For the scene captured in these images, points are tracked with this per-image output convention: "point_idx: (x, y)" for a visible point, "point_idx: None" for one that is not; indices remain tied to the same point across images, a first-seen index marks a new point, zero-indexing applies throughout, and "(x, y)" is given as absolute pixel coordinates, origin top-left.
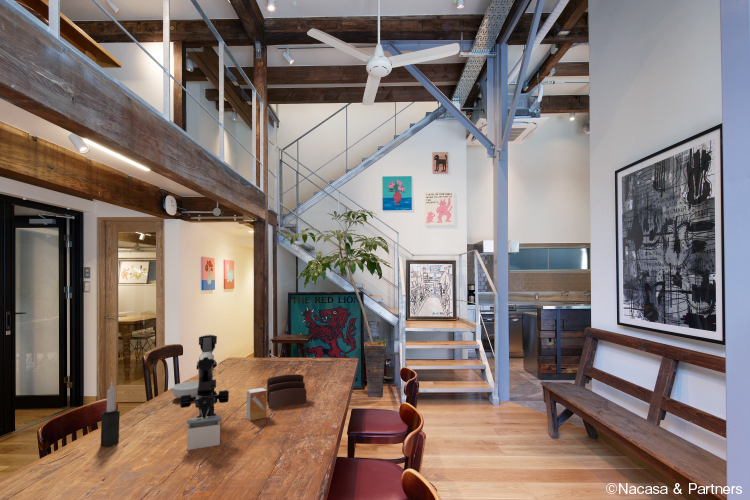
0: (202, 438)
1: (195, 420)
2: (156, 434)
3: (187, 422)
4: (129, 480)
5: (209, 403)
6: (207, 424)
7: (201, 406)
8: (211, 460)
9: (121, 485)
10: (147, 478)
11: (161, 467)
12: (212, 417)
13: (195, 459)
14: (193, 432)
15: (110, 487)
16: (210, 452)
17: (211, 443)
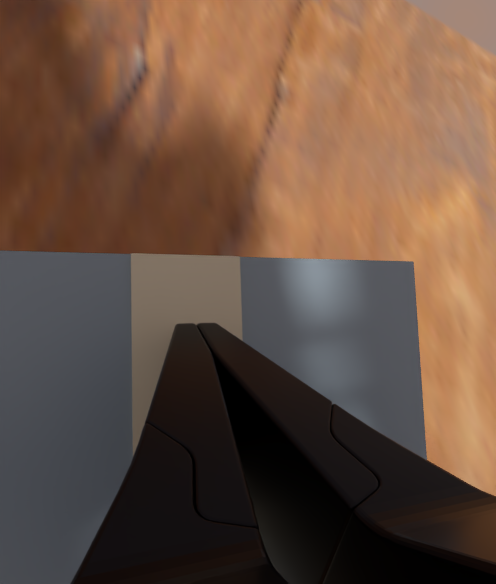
0: None
1: (314, 270)
2: None
3: (400, 263)
4: (436, 92)
5: (104, 577)
6: None
7: (373, 453)
8: (69, 89)
9: (447, 68)
10: (374, 70)
11: (349, 148)
12: (28, 399)
13: (180, 156)
14: None
15: (476, 74)
16: (78, 221)
17: None
